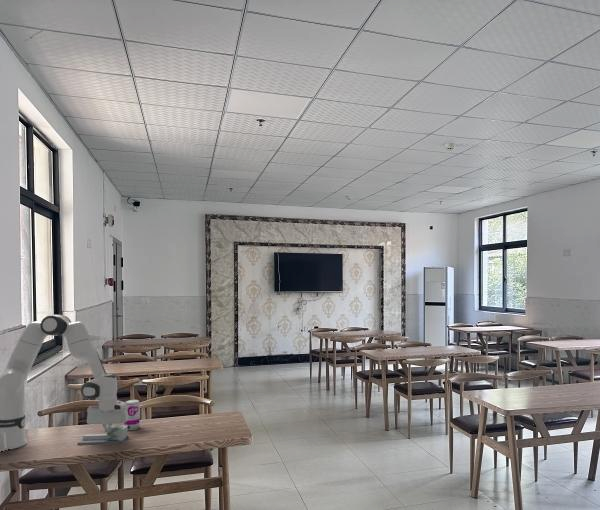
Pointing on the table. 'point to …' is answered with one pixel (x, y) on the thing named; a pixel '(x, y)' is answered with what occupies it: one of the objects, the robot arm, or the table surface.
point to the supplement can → (133, 414)
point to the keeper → (113, 432)
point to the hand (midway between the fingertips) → (107, 432)
